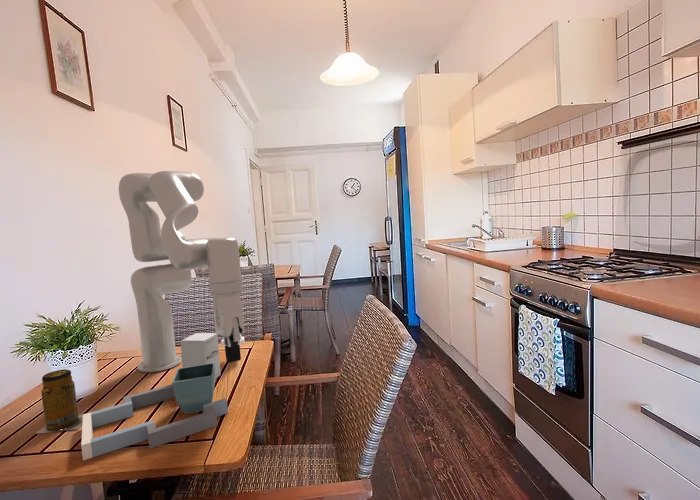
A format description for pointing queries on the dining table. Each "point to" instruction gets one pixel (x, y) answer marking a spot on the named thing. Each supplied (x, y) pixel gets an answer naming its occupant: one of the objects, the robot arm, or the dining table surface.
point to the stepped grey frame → (147, 429)
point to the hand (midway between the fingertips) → (233, 360)
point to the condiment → (59, 402)
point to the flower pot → (194, 387)
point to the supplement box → (201, 351)
